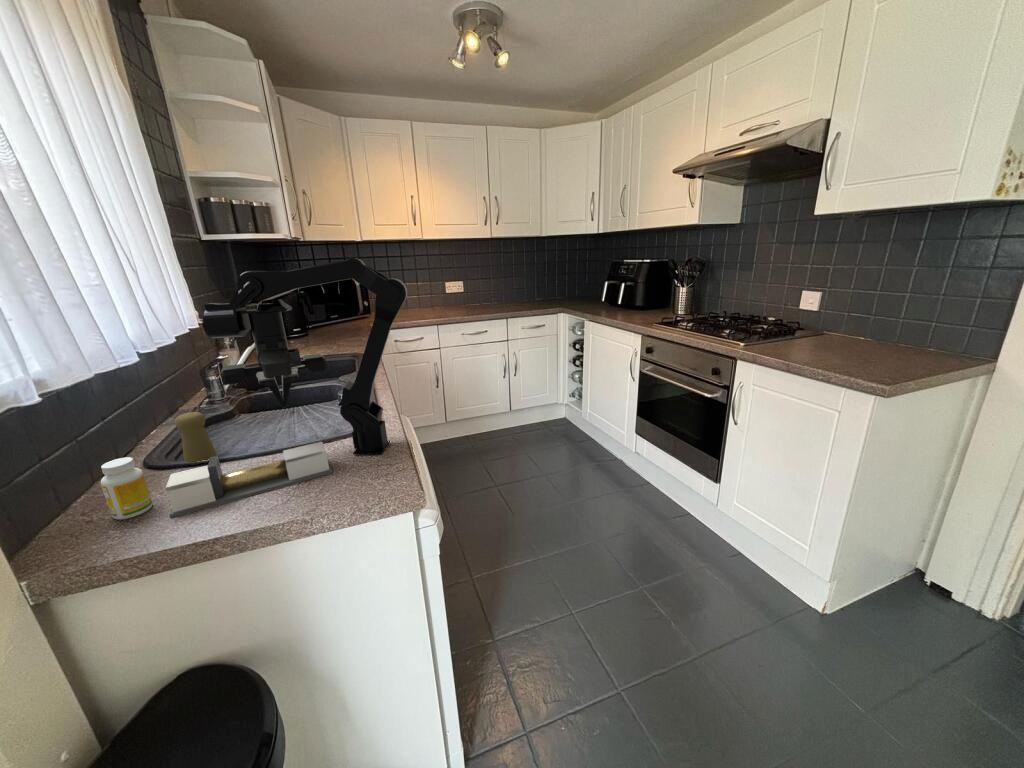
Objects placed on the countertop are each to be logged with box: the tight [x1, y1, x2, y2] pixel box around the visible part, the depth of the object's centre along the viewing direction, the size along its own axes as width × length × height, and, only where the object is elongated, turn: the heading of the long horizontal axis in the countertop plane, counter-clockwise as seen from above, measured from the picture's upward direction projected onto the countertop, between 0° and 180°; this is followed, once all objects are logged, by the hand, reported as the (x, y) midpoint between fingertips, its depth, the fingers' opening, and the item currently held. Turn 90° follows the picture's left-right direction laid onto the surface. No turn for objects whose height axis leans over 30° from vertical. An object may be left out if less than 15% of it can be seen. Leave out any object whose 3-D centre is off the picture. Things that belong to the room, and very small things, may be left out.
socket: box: [165, 464, 216, 512], centre depth 72 cm, size 6×6×5 cm
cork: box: [174, 411, 219, 463], centre depth 89 cm, size 6×6×11 cm
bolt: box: [207, 456, 288, 498], centre depth 76 cm, size 17×5×6 cm, turn 122°
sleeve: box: [282, 441, 329, 480], centre depth 82 cm, size 7×5×4 cm
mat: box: [168, 461, 333, 519], centre depth 78 cm, size 26×7×1 cm, turn 122°
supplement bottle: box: [100, 456, 153, 520], centre depth 70 cm, size 5×5×10 cm
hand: (284, 407), depth 86 cm, fingers closed
